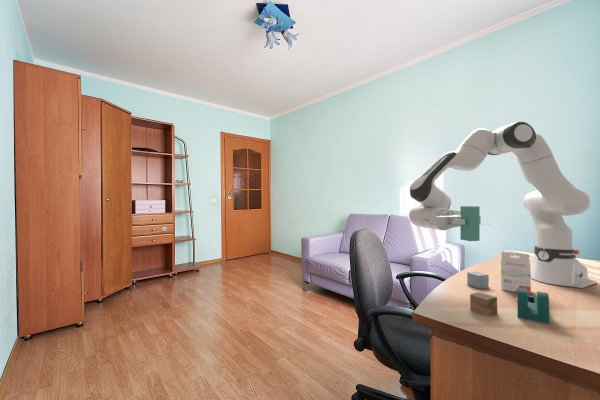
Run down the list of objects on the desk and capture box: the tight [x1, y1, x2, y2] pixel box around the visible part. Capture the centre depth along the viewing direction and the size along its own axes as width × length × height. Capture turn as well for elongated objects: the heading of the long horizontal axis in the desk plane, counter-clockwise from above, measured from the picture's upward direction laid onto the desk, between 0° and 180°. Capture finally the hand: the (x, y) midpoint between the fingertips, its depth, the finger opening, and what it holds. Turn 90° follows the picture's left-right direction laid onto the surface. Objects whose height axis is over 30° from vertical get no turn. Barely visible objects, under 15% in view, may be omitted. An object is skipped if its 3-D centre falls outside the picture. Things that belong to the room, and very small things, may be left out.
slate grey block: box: [466, 271, 490, 289], centre depth 104 cm, size 5×5×5 cm
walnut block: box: [469, 291, 498, 317], centre depth 80 cm, size 5×5×5 cm
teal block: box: [459, 205, 481, 242], centre depth 91 cm, size 4×4×12 cm
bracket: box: [517, 288, 550, 325], centre depth 81 cm, size 18×7×8 cm, turn 140°
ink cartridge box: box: [500, 251, 532, 295], centre depth 98 cm, size 9×5×15 cm, turn 47°
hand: (472, 222), depth 91 cm, fingers closed on teal block, 4 cm apart
